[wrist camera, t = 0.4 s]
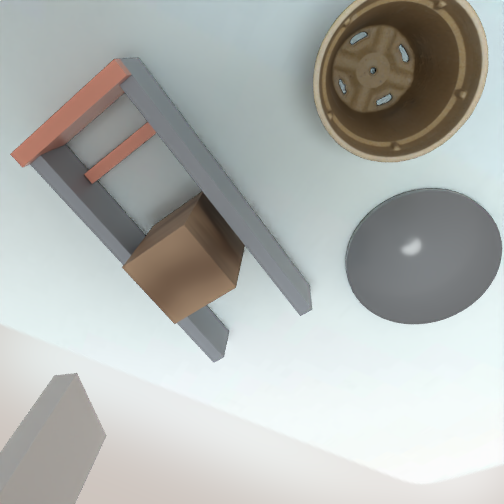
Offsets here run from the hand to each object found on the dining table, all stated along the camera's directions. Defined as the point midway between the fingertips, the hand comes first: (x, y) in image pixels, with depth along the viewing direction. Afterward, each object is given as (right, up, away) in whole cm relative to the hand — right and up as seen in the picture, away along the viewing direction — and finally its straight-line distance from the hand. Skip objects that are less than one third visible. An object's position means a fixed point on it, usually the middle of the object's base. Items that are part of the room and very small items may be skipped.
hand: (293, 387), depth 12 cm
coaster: (+14, +3, +25) cm, 29 cm away
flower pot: (+8, +17, +19) cm, 27 cm away
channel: (-7, +7, +25) cm, 27 cm away
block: (-6, +6, +25) cm, 27 cm away
